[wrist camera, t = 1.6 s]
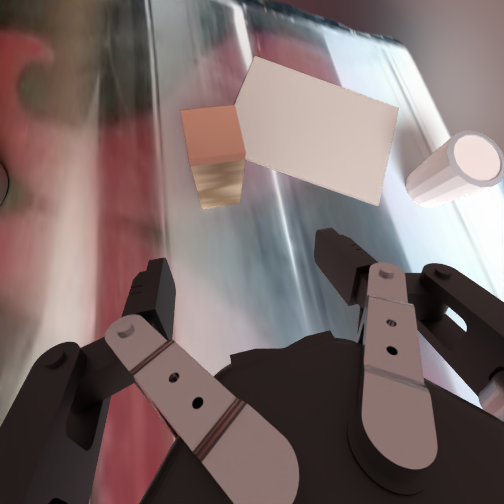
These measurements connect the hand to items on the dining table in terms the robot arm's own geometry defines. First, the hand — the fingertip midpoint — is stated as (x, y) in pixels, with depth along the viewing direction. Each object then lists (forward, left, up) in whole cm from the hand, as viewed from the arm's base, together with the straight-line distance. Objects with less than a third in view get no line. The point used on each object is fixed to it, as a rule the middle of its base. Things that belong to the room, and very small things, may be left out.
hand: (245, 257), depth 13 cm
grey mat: (+3, +23, -15) cm, 28 cm away
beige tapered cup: (+20, +20, -15) cm, 32 cm away
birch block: (-6, +10, -15) cm, 19 cm away
